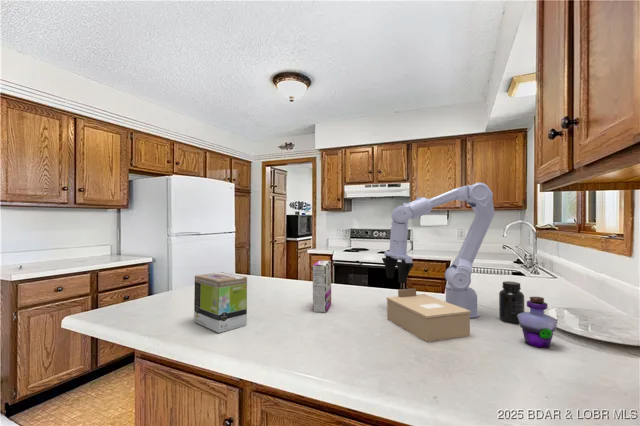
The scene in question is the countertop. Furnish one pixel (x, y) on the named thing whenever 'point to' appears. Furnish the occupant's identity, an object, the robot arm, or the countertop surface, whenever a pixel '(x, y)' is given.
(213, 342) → the countertop surface
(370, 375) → the countertop surface
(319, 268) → the candy bar box
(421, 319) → the mailer box
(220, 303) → the tea box
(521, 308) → the supplement bottle
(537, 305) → the potion bottle
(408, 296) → the mailer lid
